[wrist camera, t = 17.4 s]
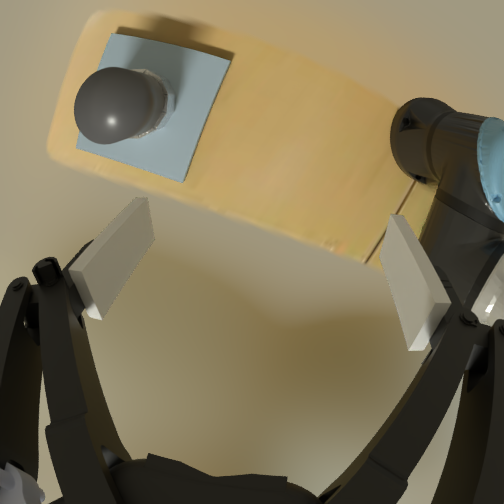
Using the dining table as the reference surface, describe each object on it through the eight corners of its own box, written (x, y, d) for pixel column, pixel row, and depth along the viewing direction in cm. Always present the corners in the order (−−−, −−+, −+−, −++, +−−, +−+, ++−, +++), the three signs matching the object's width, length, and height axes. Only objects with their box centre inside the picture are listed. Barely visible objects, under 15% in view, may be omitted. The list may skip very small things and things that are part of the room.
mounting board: (231, 62, 36) (230, 60, 35) (184, 180, 45) (182, 183, 44) (115, 34, 33) (111, 33, 31) (80, 146, 41) (75, 148, 40)
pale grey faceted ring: (186, 116, 39) (179, 117, 35) (130, 146, 40) (118, 150, 37) (159, 60, 34) (150, 56, 31) (105, 93, 36) (91, 93, 32)
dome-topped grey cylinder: (181, 115, 38) (156, 119, 28) (129, 143, 40) (92, 158, 29) (157, 64, 34) (125, 51, 24) (106, 94, 36) (64, 95, 25)
